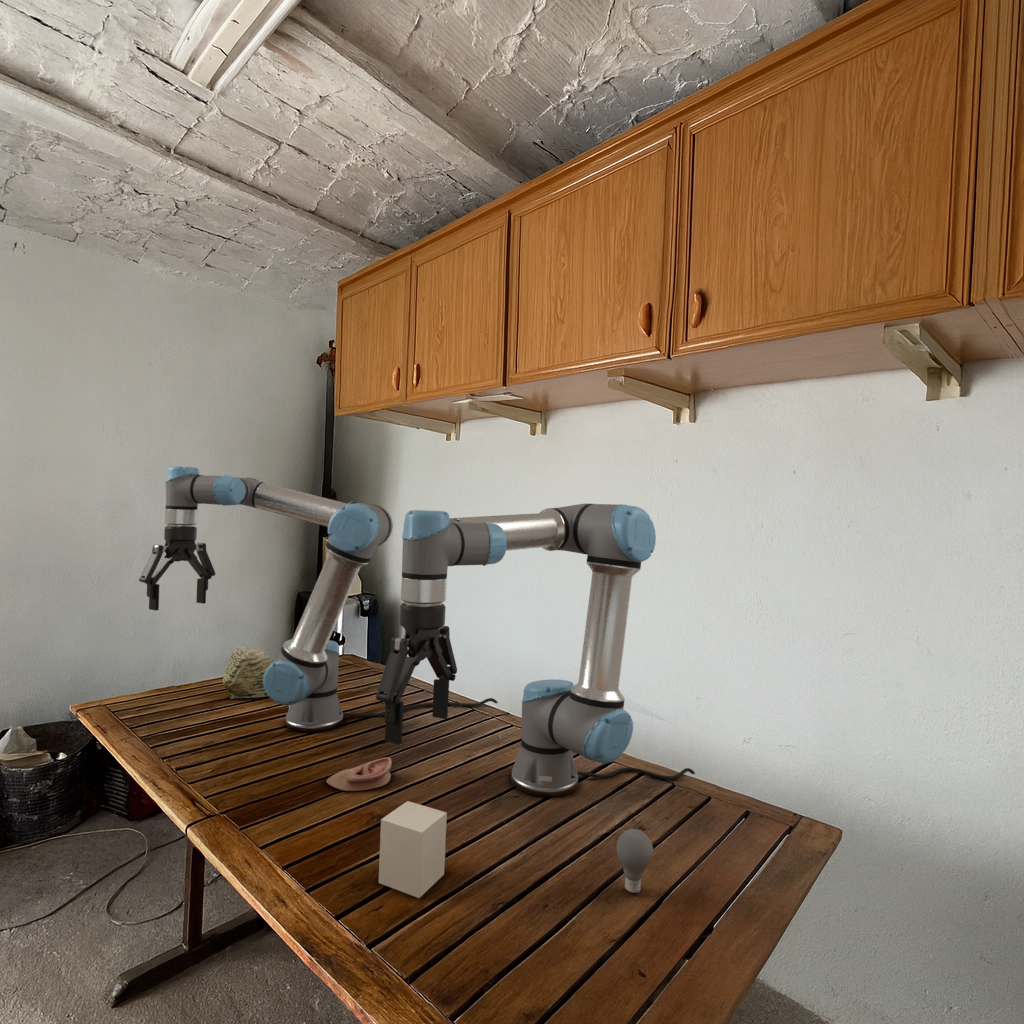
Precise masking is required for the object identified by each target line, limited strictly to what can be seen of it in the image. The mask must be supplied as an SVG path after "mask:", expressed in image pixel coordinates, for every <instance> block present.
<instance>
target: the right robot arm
mask: <svg viewBox="0 0 1024 1024" xmlns="http://www.w3.org/2000/svg"><path fill="white" fill-rule="evenodd" d="M656 537H657V536H656V528H655V524H654V521H653V520H652V519H651V517H650V515H649V513H648V512H647V511H646V510H644V509H643V508H641V507H639V506H636V505H630V504H629V505H627V504H614V503H612V504H610V503H609V504H608V503H579V504H571V505H566V506H565V505H564V506H559V507H549V508H544V509H542V510H540V512H539V513H538V512H537V513H521V514H520V513H519V514H503V515H502V514H501V515H487V516H485V515H483V516H464V517H463V516H462V517H452V518H451V517H450V514H449V512H447V511H443V510H424V509H423V510H422V509H419V510H418V509H412V510H411V509H410V510H409V511H407V512H406V513H405V516H404V521H403V530H402V535H401V539H402V554H401V556H402V557H401V590H400V600H401V601H402V603H401V604H400V606H399V625H400V626H401V627H403V629H404V635H403V637H396V636H393V637H392V638H391V639H390V648H389V649H390V650H389V654H388V657H387V661H386V663H385V668H383V669H384V670H383V674H382V676H381V679H380V682H379V686H378V688H377V692H376V695H375V699H376V701H380V702H384V704H385V705H384V706H385V708H384V713H385V716H384V722H385V728H384V729H385V730H384V731H385V732H384V742H387V743H391V744H395V745H398V746H399V745H401V744H402V743H403V727H404V726H403V724H404V723H403V722H404V720H403V719H404V711H403V707H404V701H401V700H402V698H403V695H404V692H405V691H406V689H407V686H408V684H409V682H410V679H411V677H412V675H413V673H414V670H415V668H416V667H418V666H419V665H420V663H421V661H424V660H425V659H427V661H428V663H429V665H430V667H431V668H432V670H433V672H434V674H435V676H436V678H435V679H433V689H432V690H433V691H432V702H433V706H432V717H433V718H437V719H441V720H446V719H448V718H449V717H448V715H449V705H448V702H449V694H450V692H449V691H450V682H451V681H452V682H454V681H456V676H457V675H456V674H457V673H458V667H457V666H458V665H457V662H456V659H455V653H454V650H453V646H452V643H451V638H450V636H451V635H450V626H448V625H446V605H445V604H444V603H445V602H446V601H447V588H448V587H447V585H448V584H447V583H448V567H454V566H484V567H485V566H487V565H495V564H497V563H499V562H501V561H502V560H503V559H504V557H505V555H506V553H507V551H518V550H528V549H529V550H530V549H539V548H542V549H543V550H544V551H549V552H554V551H562V552H563V551H564V552H569V553H575V554H581V555H587V556H586V564H587V566H588V567H589V569H590V570H591V581H590V588H589V597H588V604H587V613H586V620H585V627H584V637H583V642H582V643H583V644H582V651H581V659H580V660H581V661H580V668H579V676H578V682H577V683H576V684H575V683H573V682H572V681H570V680H565V679H553V678H552V679H540V680H535V681H531V682H529V683H527V684H526V685H525V686H524V688H523V693H522V694H523V696H522V700H521V728H520V729H521V733H520V734H521V735H520V748H519V751H518V753H517V756H516V759H515V761H514V764H513V766H512V769H511V777H510V779H511V783H512V785H513V786H514V787H515V788H516V789H518V790H519V791H520V792H523V793H525V794H528V795H532V796H537V797H545V798H549V797H551V798H552V797H561V796H566V795H568V794H571V793H573V792H574V791H575V790H576V789H577V788H578V786H579V776H584V777H592V778H597V779H607V778H610V777H613V776H615V775H617V774H620V773H623V772H637V773H641V774H644V775H647V776H650V777H653V778H656V779H659V780H660V779H661V780H667V781H668V780H669V781H671V780H677V779H679V778H681V777H682V776H683V775H685V774H686V773H687V772H688V773H690V774H692V775H695V774H696V772H695V771H694V770H693V769H692V768H689V767H686V768H683V769H682V770H681V771H679V773H677V774H673V775H663V774H658V773H655V772H651V771H649V770H646V769H642V768H637V767H620V768H618V769H615V770H614V771H612V772H608V773H604V774H602V773H601V774H599V773H595V772H594V773H592V772H586V771H578V769H577V765H576V762H575V759H574V755H573V753H576V754H577V755H579V756H581V757H584V759H586V760H588V761H594V762H597V763H599V764H609V763H612V762H615V761H616V760H617V759H619V758H620V757H621V756H622V754H623V753H624V752H625V751H626V750H627V748H628V746H629V744H630V742H631V740H632V737H633V731H634V721H633V719H632V715H631V714H630V713H629V712H628V711H627V710H626V709H624V708H625V695H624V694H623V693H622V691H621V690H620V679H621V673H622V663H623V655H624V646H625V640H626V630H627V622H628V614H629V607H630V599H631V591H632V583H633V582H632V581H633V577H634V576H635V575H637V574H638V573H639V572H640V571H641V568H642V563H643V562H645V561H646V560H647V561H648V559H649V558H651V556H652V553H653V552H654V551H655V548H656V541H657V538H656Z"/></svg>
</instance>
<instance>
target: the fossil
mask: <svg viewBox="0 0 1024 1024" xmlns="http://www.w3.org/2000/svg"><path fill="white" fill-rule="evenodd" d="M273 662H275V660H273V659H272V658H271V657H270V656H269V655H268V654H267V653H266V652H265V650H264V649H263V648H260V647H258V648H251V647H247V646H246V647H245V646H238V647H237V648H236V649H235V650H233V651H232V653H231V656H230V657H229V659H228V660H227V663H226V666H225V668H224V671H223V675H222V676H223V677H222V685H223V687H224V688H225V690H226V691H228V693H229V698H230V699H250V698H264V697H269V696H268V695H267V692H266V690H265V689H264V685H263V676H264V673H265V671H266V669H267V668H268V667H269V666H270V665H271V664H272V663H273Z"/></svg>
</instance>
